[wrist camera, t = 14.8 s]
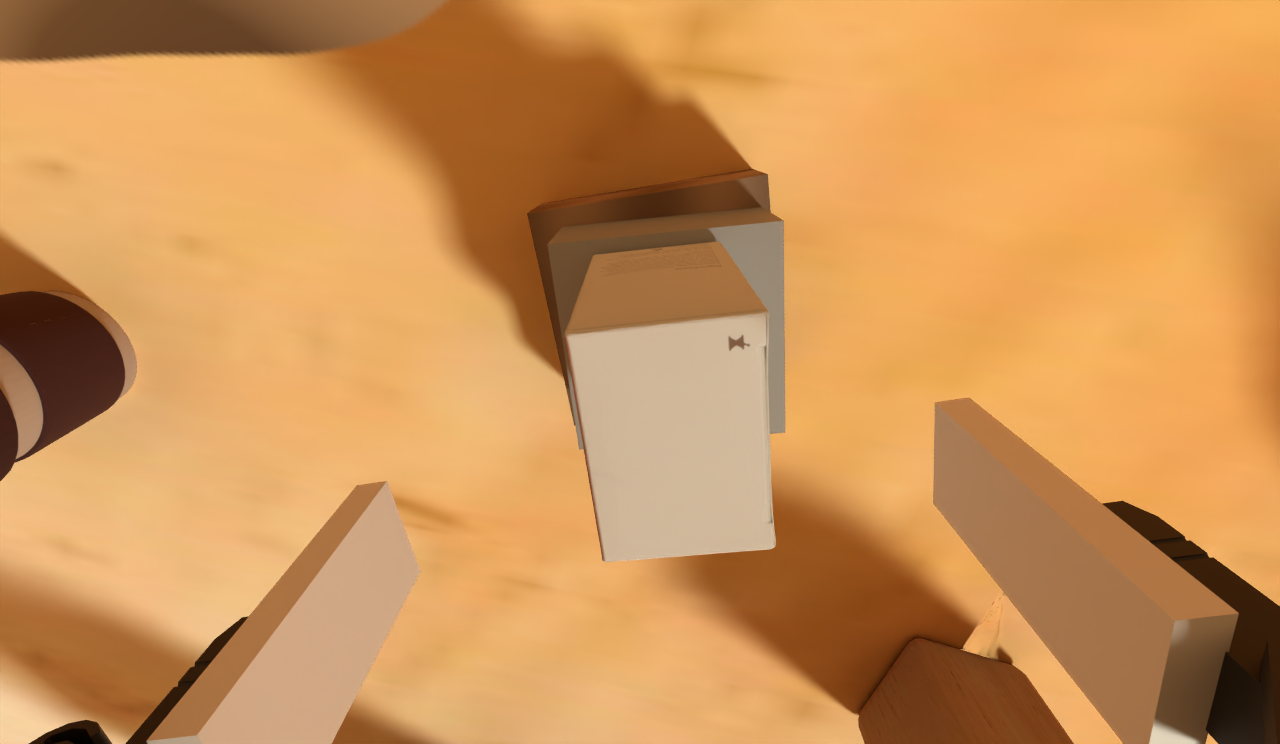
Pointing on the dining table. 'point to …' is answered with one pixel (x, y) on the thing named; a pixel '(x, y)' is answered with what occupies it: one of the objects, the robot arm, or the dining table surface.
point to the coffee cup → (56, 369)
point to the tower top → (740, 231)
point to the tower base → (639, 217)
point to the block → (956, 702)
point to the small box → (673, 403)
